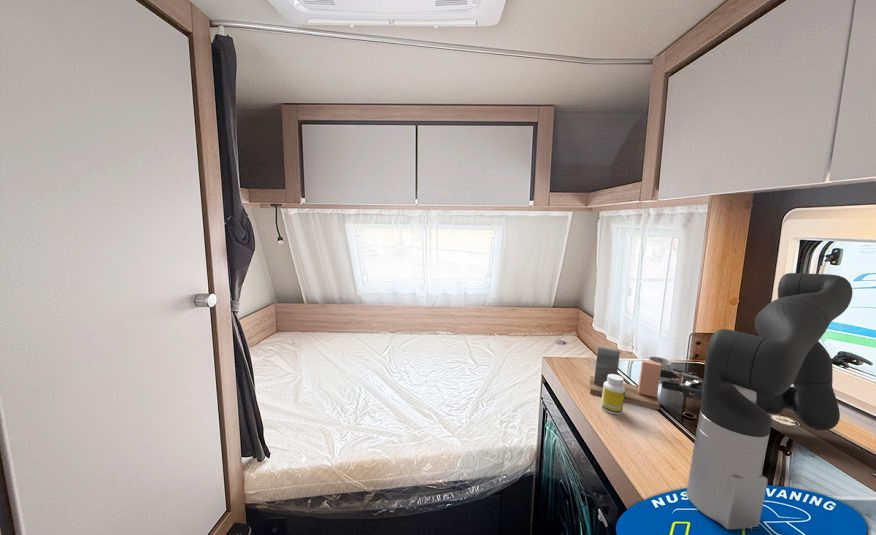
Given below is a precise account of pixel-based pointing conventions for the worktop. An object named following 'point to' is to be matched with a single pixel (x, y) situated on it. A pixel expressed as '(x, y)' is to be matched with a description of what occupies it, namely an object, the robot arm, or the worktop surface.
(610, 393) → the supplement bottle
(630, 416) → the worktop surface
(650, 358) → the mug
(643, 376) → the orange rectangular block
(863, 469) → the worktop surface
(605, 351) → the stand
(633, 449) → the worktop surface
